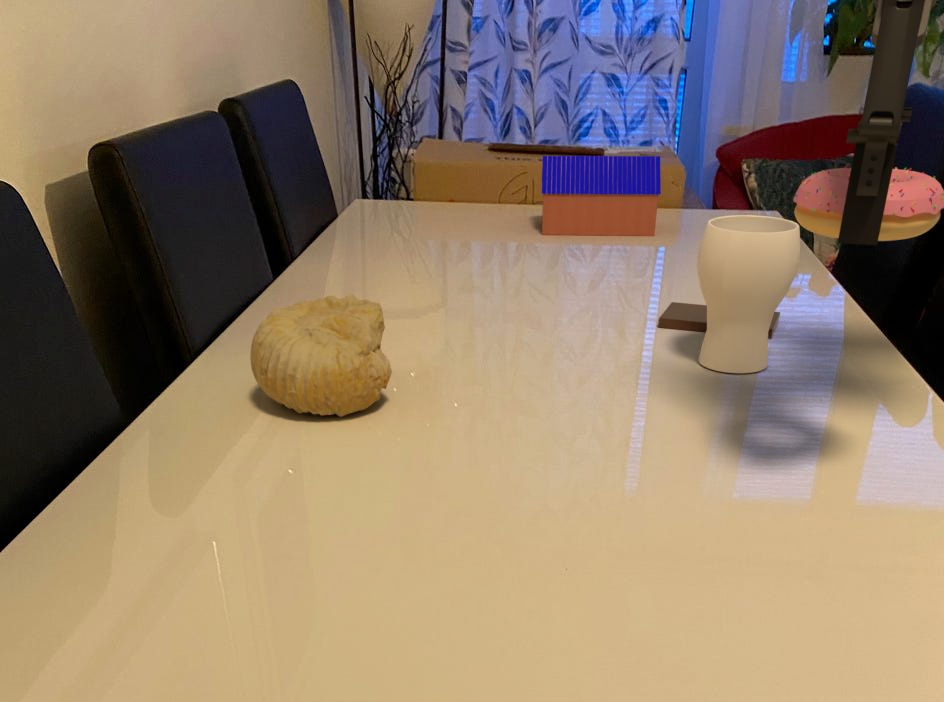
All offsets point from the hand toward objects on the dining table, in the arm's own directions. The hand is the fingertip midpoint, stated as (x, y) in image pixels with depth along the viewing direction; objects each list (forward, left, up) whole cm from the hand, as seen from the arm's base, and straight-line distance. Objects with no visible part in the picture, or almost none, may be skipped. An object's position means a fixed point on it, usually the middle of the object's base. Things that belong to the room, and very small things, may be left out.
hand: (861, 227), depth 76 cm
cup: (+11, -29, -21) cm, 37 cm away
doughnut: (0, 0, 0) cm, 0 cm away
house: (+45, -96, -21) cm, 108 cm away
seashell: (+49, -3, -21) cm, 53 cm away
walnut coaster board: (+15, -44, -21) cm, 51 cm away
